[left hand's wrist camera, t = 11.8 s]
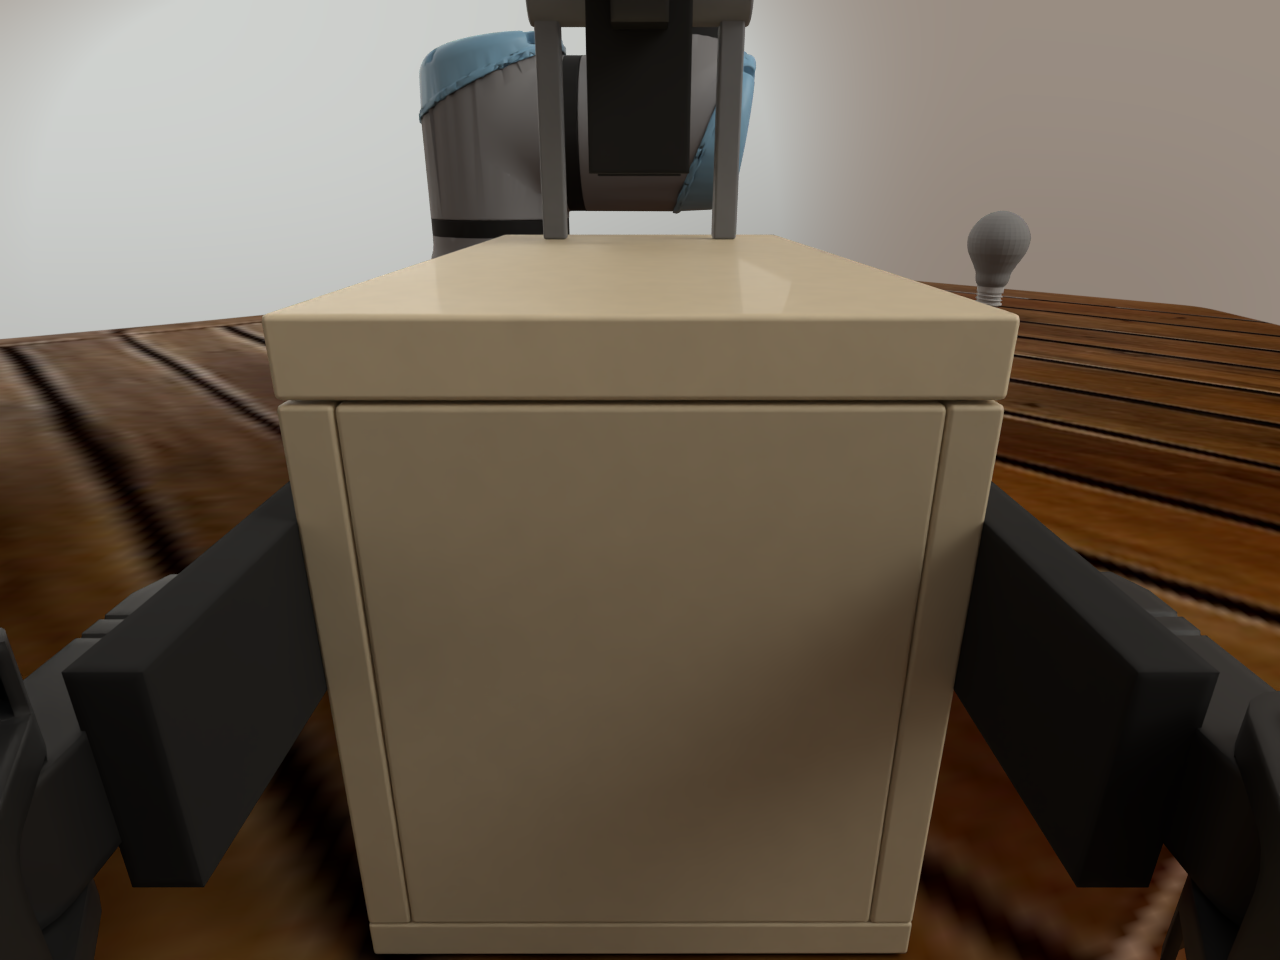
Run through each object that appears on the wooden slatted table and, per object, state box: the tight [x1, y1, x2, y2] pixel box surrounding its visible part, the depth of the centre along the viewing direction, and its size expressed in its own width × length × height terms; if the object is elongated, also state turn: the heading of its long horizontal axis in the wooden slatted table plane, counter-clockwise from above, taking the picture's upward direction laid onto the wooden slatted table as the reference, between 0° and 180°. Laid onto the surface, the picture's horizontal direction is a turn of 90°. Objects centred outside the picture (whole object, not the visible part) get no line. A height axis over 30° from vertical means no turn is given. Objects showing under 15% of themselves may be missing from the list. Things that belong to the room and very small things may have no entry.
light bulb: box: [967, 211, 1031, 307], centre depth 80 cm, size 6×6×10 cm
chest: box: [277, 400, 1004, 954], centre depth 19 cm, size 17×9×10 cm, turn 0°
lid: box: [262, 0, 1020, 400], centre depth 16 cm, size 18×9×8 cm, turn 0°
